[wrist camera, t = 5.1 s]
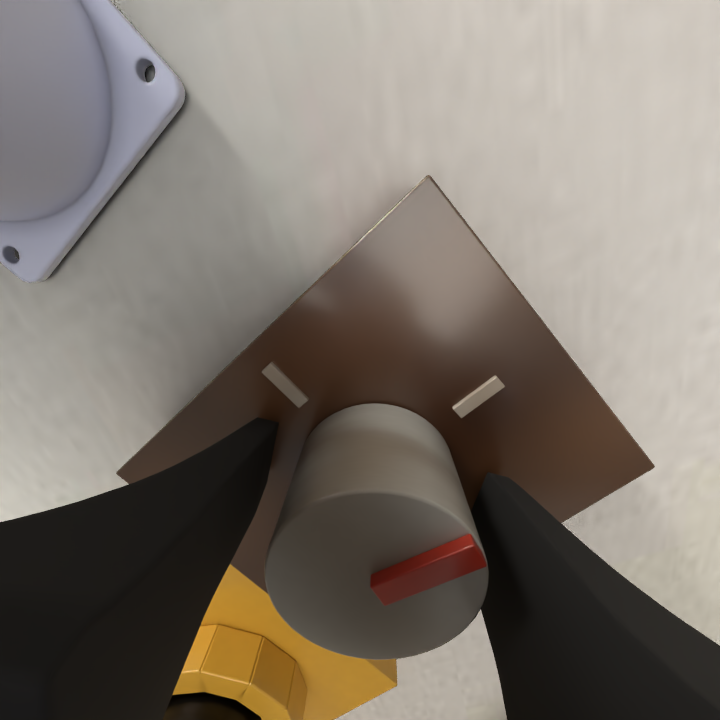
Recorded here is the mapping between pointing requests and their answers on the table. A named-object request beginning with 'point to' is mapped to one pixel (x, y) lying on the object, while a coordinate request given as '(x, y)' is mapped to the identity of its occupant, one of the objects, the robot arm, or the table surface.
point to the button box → (274, 661)
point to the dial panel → (414, 374)
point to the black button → (206, 708)
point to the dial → (376, 539)
